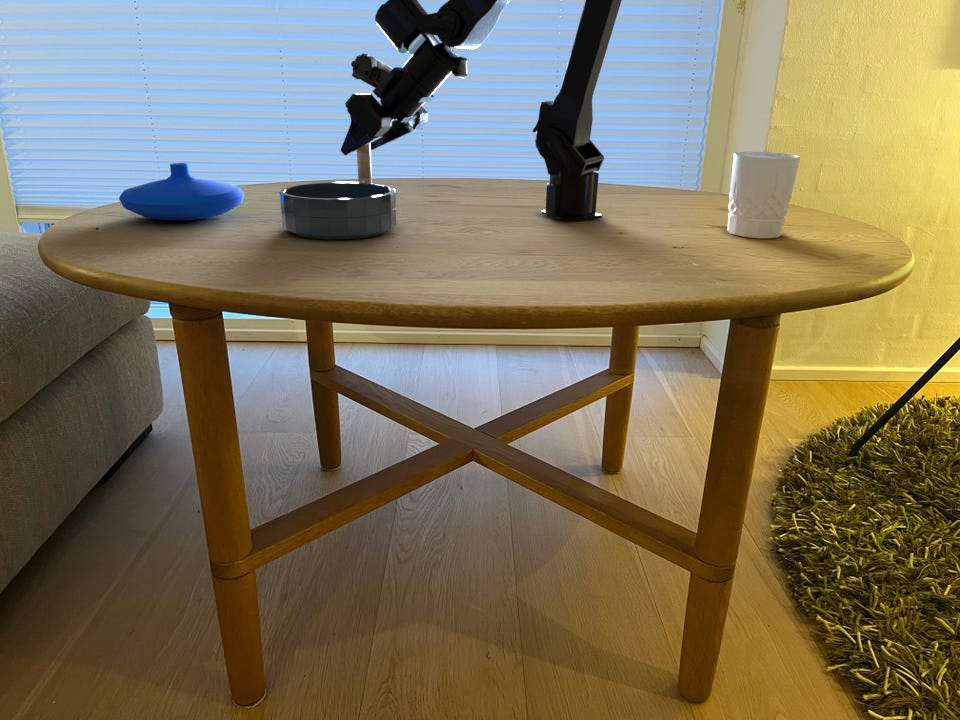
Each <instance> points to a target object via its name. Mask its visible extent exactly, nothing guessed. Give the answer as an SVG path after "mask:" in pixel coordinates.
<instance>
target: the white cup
mask: <svg viewBox="0 0 960 720" xmlns="http://www.w3.org/2000/svg"><path fill="white" fill-rule="evenodd" d="M800 161H801V156H800V155H797V154H792V153H791V154H790V153H784V152H783V153H782V152H769V151H737V152H734V153H733V159H732V169H731V177H730V185H729V200H728V212H729V213H728V217H727V225H726V226H727V227H726V230H727V232H728V233H729V234H731V235H734V236H737V237H738V236H739V237H744V238H750V239H751V238H752V239H765V240H766V239H776V238H779V237H781V236H782V234H783V231H784V225H785V223H786V222H785V221H786V218H785V217H786V216H787V215H788V211H789V208H790V202H791V199H792V196H793V192H794V187H795V183H796V177H797V174H798V170H799V165H800Z"/></svg>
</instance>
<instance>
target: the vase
mask: <svg viewBox="0 0 960 720" xmlns="http://www.w3.org/2000/svg"><path fill="white" fill-rule="evenodd" d="M169 168H170V175H169V176H168V177H167V178H164V179H163V178H162V179H158V180H154V181H150V182H146V183H143V184H140V185H136V186H132V187H129V188H126V189H125V190H123V191H122V192H121V194H120V196H119V197H118V198H119V199H118V200H119V202H120V204H121V205H122V207H123V209H125V210H127V211H129V212H132V213H134V214H137V215H138V216H142V217H144V218H148V219H154V220H163V221H164V220H165V221H176V222H179V221H180V222H182V221H184V222H185V221H195V220H202V219H207V218H213V217H217V216H221V215H224V214H226V213H227V212H228V213H229V212H230V211H231V210H233V209H235V208H236V207H238V206H240V205H241V204H242V203H243V201H244V196H245V192H244V191H243V190H242V189H241V188H240V187H239V186H238V185H236V184H233V183H232V184H231V183H228V182H224V181H217V180H214V179H213V180H212V179H207V178H201V177H200V178H199V177H194V176H192V175H191V174H190V170H189V164H188V163H186V162H175V163H174V162H173V163H169Z"/></svg>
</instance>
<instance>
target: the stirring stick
mask: <svg viewBox="0 0 960 720" xmlns="http://www.w3.org/2000/svg"><path fill="white" fill-rule="evenodd" d="M356 165H357V166H356V167H357V182H358V183H372V184H373V177H372V176H373V175H372V150H371V148H370V143H369V144H368V145H366V146H364V147H362V148H360V149H358V150H356Z"/></svg>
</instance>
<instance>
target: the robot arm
mask: <svg viewBox="0 0 960 720" xmlns="http://www.w3.org/2000/svg"><path fill="white" fill-rule="evenodd" d="M509 2H511V0H447V1H446V2H445V3H444V4H442V5H441V6H440V7H439V9H438V10H437V12H432V13H428V12H427V11H426V9H425V8H424V7H423V6H422V5H421V3H420V2H419V0H387V1H386V2H385V3H382V4H381V5H380V6H379V7H378V9H377V11H376V13H375V15H374V22H375V23H376V25H377V26H378V27H379V28H380V30H381V31H382V33H384V35H385V36H386V37H387V39H388V40H389V41H390V42H391V43H392V45H393V46H394V48H395V49H396V50H397V51H398V53H400V54H406V53H408V54H410V55H411V56H410V57H409V58H408V60H406V62H405V63H404V65H402V67H400V66H399V67H398V66H397V67H396V66H395V67H392V66H390V65H388V64H387V63H384V62H383V61H381V60H380V59H378V58H376V57H374V56H371V55H370V54H369V53H362V54H359V55H356V57H355V59H354V60H352V61H351V63H350V65H351V67H352V73H351V76H352V77H353V78H354V79H355V80H361V81H362V82H364V83H365V84H367V85H369V86H371V87H373V90H372V93H373V94H374V95H375V96H376V98H375V96H374V95H373V94H372V93H352V94H351V95H350V96H349V98H348V99H347V100H346V101H345V102H344V106H345V108H346V111H347V113H348V114H349V116H350V124H349V127H348V130H347V133H346V134H345V138H344V139H343V142H342V145H341V148H340V152H341V153H342V154H343V156H348V155H349V154H352V153H355V152H357V150H358V149H360V148H362V147H364V146H366V145H368V144H369V143H370V148H371V151H374V150H376V149H379V148H381V147H383V146H385V145H388V144H389V143H392V142H394V141H397V140H399V139H401V138H403V137H406V136H408V135H410V134H413V133H416V131H419V130H422V129H423V127H424V126H425V125H426V124H427V123H428V122H429V113H428V112H427V110H426V109H425V108H424V106H423V105H424V104H425V103H429V102H432V100H433V99H434V98H435V96H434V95H433V94H434V93H435V92H436V90H437V89H438V88H439V87H440V86H441V85H442V84H443V83H444V82H445V80H446V79H447V78H448V77H449V76H450V75H451V74H452V75H453V76H454V77H457V78H461V79H467V77H468V67H467V65H468V58H467V57H464V56H458V54H456V53H455V52H454V50H453V49H452V48H456V49H467V50H468V49H469V50H474V49H477V48H479V47H481V46H482V45H483V44H484V43H485V41H486V40H487V39H488V37H489V36H490V34H491V33H492V31H493V30H494V29H495V27H496V25H497V23H498V22H499V20H500V16H501V14H502V12H503V10H504V9H505V8H506V6H507V4H509ZM621 3H622V0H584V5H583V7H582V11H581V16H580V19H579V22H578V26H577V30H576V33H575V36H574V39H573V44H572V48H571V50H570V55H569V58H568V62H567V65H566V68H565V72H564V76H563V78H562V83H561V86H560V87H561V88H560V89H559V91H558V93H557V95H556V97H555V98H554V99H553V100H547V101H542V102H541V103H540V106H539V110H538V111H539V113H538V118H537V121H536V125H535V126H534V127H533V129H532V132H533V133H535V139H534V143H535V148H536V149H537V151H538V153H539V155H540V157H542V158H543V160H544V164H545V166H546V167H545V168H546V170H547V174H548V175H549V182H548V183H547V184H546V194H545V209H543V210H541V215H545V216H548V217H550V218H554V219H557V220H560V221H564V222H572V221H574V222H575V221H583V220H584V221H585V220H594V219H596V220H597V219H602V218H603V214H601V213H598V212H597V203H598V190H599V189H598V188H599V175H600V173H599V172H598V171H600V169H601V167H602V165H603V162H604V160H605V156H604V155H603V153H602V151H600V150H599V148H598V147H597V146H596V145H595V143H594V142H593V141H592V140H591V134H592V127H593V122H594V121H593V117H594V116H593V115H594V114H593V96H594V93H595V90H596V86H597V83H598V80H599V77H600V73H601V70H602V67H603V63H604V59H605V57H606V53H607V51H608V47H609V44H610V40H611V37H612V34H613V31H614V28H615V23H616V20H617V18H618V17H617V16H618V15H619V10H620V7H621ZM435 36H436V37H435ZM437 38H438V39H437ZM377 98H379V99H380V100H379V101H378V100H377ZM412 122H414V123H413V124H412Z"/></svg>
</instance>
